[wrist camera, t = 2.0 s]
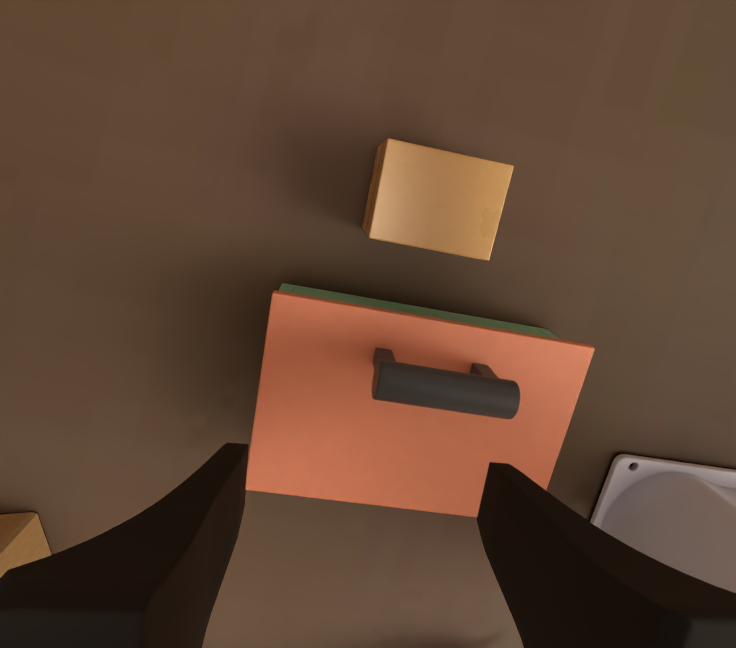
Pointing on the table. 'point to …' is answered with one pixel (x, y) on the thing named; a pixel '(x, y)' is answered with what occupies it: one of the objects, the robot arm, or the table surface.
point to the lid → (404, 405)
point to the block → (435, 199)
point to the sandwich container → (21, 540)
